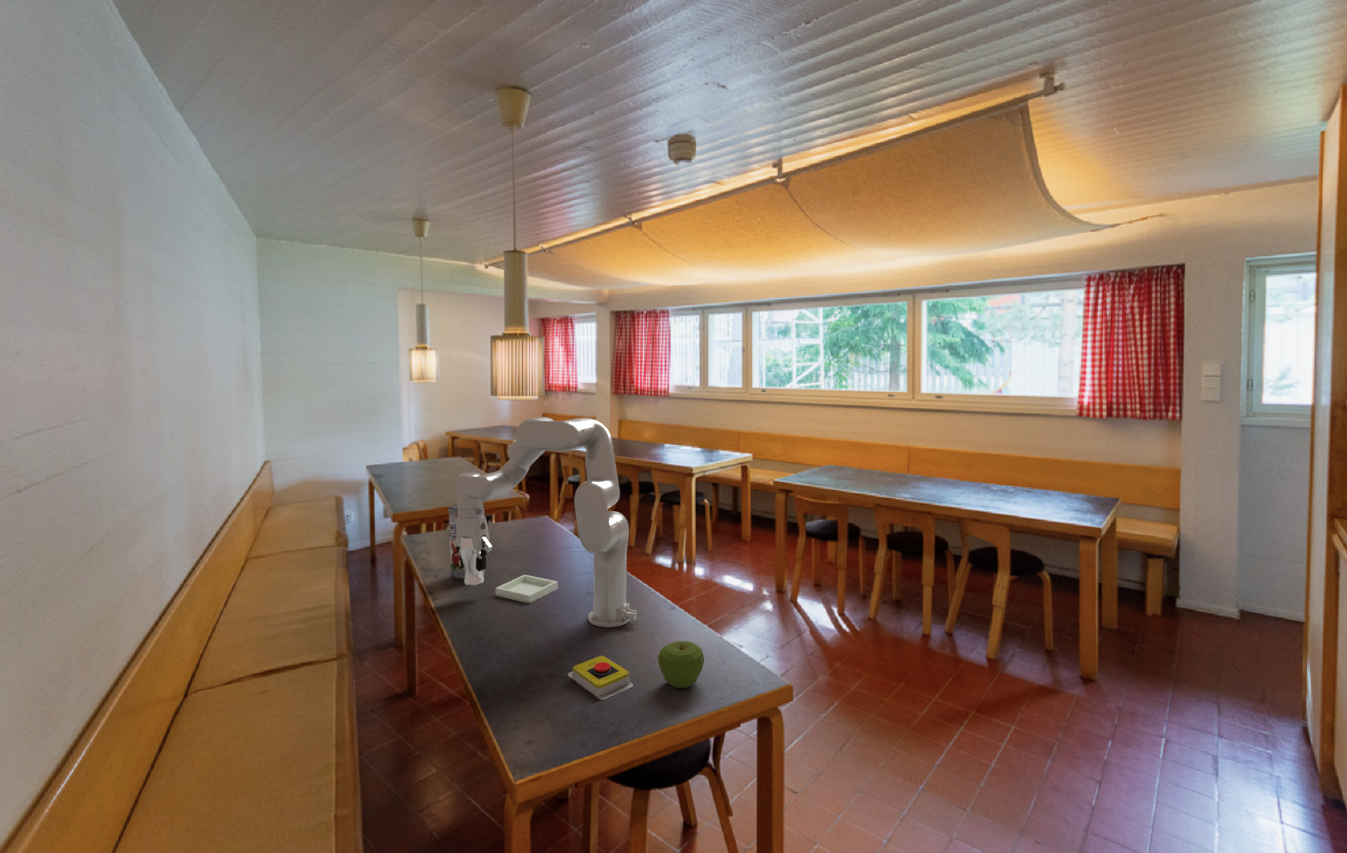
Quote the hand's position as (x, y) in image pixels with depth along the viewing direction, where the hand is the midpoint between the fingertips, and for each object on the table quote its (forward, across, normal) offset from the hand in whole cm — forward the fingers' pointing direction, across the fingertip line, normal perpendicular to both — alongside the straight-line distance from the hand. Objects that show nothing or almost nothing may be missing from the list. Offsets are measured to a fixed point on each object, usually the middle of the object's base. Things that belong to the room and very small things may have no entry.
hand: (473, 568), depth 185 cm
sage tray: (+10, -11, -12) cm, 19 cm away
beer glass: (+5, 0, 0) cm, 5 cm away
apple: (+12, -80, +16) cm, 83 cm away
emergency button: (+12, -62, +23) cm, 67 cm away
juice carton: (+10, +16, -13) cm, 23 cm away
